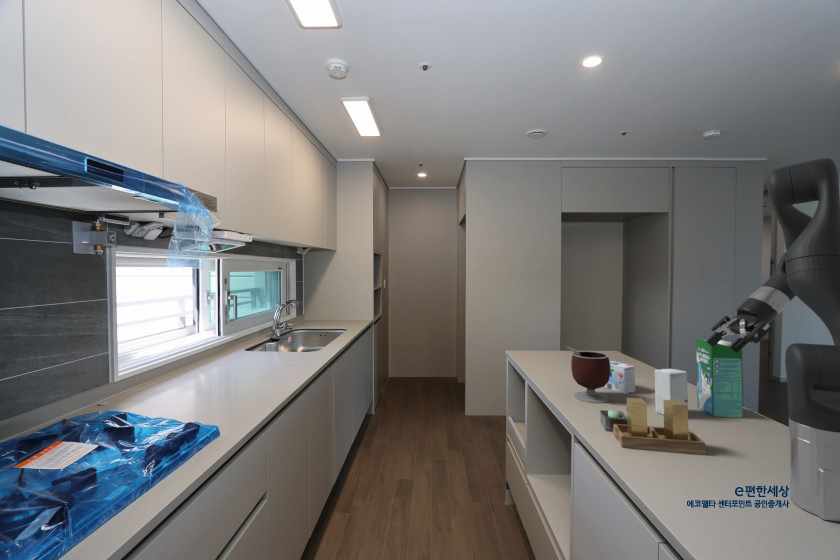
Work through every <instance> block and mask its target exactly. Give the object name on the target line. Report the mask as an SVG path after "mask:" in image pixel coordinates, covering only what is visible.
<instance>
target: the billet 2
mask: <svg viewBox="0 0 840 560" xmlns="http://www.w3.org/2000/svg"><path fill="white" fill-rule="evenodd" d="M663 401H664V415H663V427H664V438H665V439H673V440H686V441H688V429H689V417H688V416H689V404H688V405H687V404H685V403H683V402H681V401H679V400H663Z"/></svg>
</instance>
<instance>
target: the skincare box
mask: <svg viewBox="0 0 840 560" xmlns="http://www.w3.org/2000/svg"><path fill="white" fill-rule="evenodd" d="M654 396H655V397H654V398H655V399H654V400H655V403H654V404H655V412H656V413H658V414H661V415H663V416H664V401H663V400H679V401H681V402H683V403H685V404H687V405H688V406H689V396H688V372H687V371H684V370H680V369H676V368H661V369H655V370H654Z"/></svg>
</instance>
